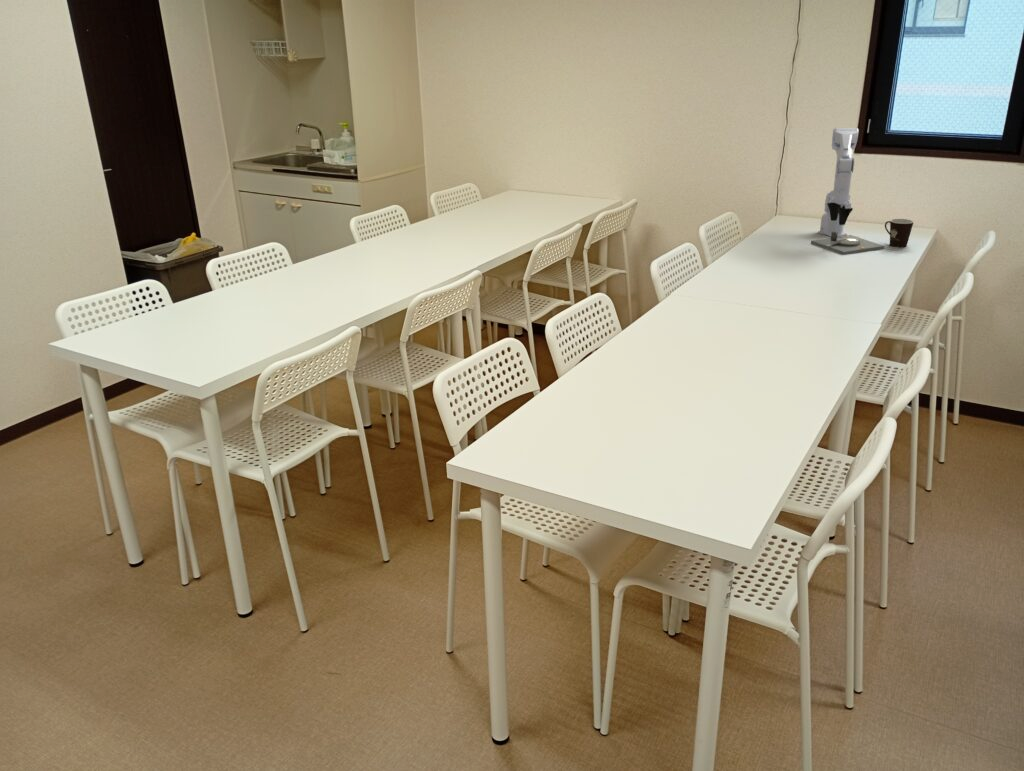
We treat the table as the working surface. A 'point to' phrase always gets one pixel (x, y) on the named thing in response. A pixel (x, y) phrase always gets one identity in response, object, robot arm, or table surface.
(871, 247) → the panel
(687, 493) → the table surface
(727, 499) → the table surface
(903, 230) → the coffee mug
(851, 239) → the dial
